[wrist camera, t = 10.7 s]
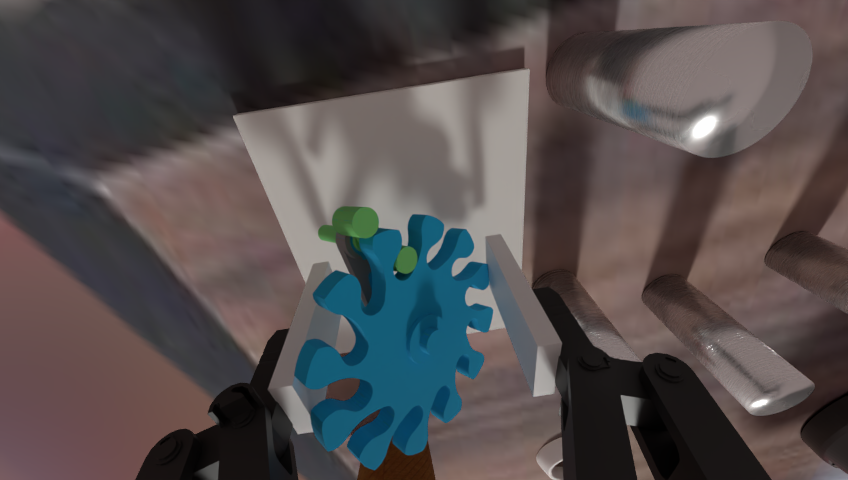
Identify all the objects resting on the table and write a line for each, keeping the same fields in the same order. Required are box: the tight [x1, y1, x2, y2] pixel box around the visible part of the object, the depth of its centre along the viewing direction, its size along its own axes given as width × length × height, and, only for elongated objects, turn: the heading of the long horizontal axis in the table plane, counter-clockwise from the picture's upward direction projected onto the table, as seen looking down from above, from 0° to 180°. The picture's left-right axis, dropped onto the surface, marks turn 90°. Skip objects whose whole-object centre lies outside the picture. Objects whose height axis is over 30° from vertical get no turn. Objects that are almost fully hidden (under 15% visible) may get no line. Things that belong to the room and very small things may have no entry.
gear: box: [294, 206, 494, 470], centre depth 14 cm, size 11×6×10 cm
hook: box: [536, 437, 563, 480], centre depth 31 cm, size 8×12×7 cm
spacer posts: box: [533, 21, 848, 416], centre depth 15 cm, size 19×18×8 cm
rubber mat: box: [233, 68, 530, 354], centre depth 18 cm, size 13×16×1 cm
